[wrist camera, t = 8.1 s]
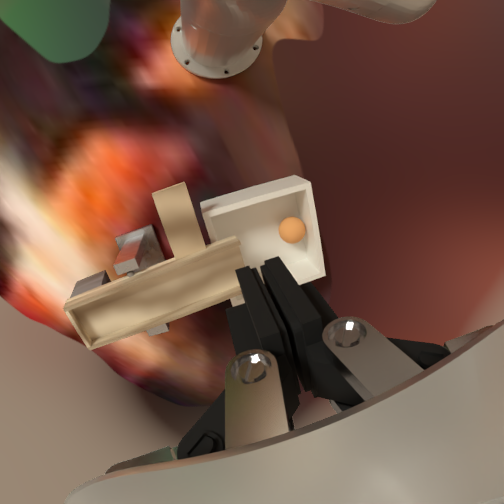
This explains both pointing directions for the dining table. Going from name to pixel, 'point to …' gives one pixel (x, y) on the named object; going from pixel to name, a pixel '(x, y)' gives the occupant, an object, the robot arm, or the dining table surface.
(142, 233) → the lever stand
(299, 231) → the ball
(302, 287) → the robot arm
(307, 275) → the bin
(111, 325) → the lever
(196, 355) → the dining table surface
